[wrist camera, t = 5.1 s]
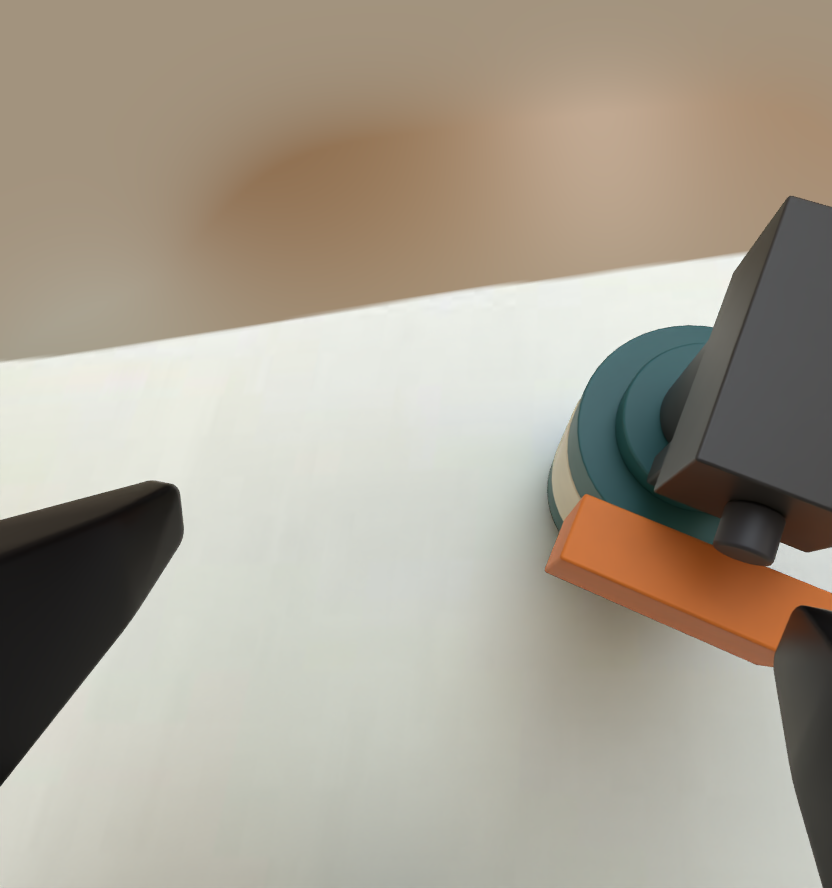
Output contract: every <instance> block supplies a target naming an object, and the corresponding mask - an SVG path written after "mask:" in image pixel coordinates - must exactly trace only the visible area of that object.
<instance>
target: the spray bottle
mask: <svg viewBox="0 0 832 888" xmlns="http://www.w3.org/2000/svg"><path fill="white" fill-rule="evenodd" d="M547 493H548V503H549V507H550V512H551V515H552V517H553V520H554V523H555V525H556V526H557V528H558V530H559V532H560V529H561V527H562V524H563V522H564V520H565V518H566V517H567V516H568V515H569V513H570V512H571V511H572V510H573V508H574V507H575V506H576V505H577V503H578V502H579V501H580V500H581V498H582V497H583V496H584V495H585V494H588V495H591V496H593V497H596V498H598V499H601V500H603V501H606V502H608V503H610V504H613V505H615V506H618V507H620V508H623V509H625V510H628V511H630V512H633V513H635V514H638V515H640V516H642V517H645V518H647V519H650V520H652V521H655V522H657V523H660V524H662V525H665V526H667V527H670V528H672V529H674V530H677V531H679V532H682V533H684V534H687V535H689V536H692V537H694V538H697V539H699V540H702V541H704V542H707V543H709V544H711V545H713V546H714V548H715V549H716V550H718V551H719V552H721V553H722V554H724V555H726V556H728V557H730V558H733V559H735V560H738V561H741V562H744V563H748V564H752V565H758V566H769V565H771V564H772V563H773V562H774V560H775V556H776V553H777V550H778V547H779V543H780V542H781V543H784V544H786V545H789V546H791V547H794V548H796V549H799V550H801V551H804V552H812V551H817V550H821V549H826V548H830V547H832V207H830V206H826V205H823V204H819V203H815V202H812V201H808V200H805V199H801V198H798V197H794V196H789V197H788V198H787V199H786V200H785V202H784V203H783V204H782V206H781V207H780V209H779V210H778V212H777V213H776V214H775V216H774V217H773V218H772V220H771V221H770V223H769V224H768V225H767V227H766V228H765V230H764V231H763V232H762V234H761V235H760V237H759V238H758V239H757V241H756V242H755V244H754V245H753V246H752V248H751V249H750V250H749V252H748V253H747V255H746V256H745V257H744V259H743V260H742V262H741V263H740V264H739V266H738V267H737V269H736V270H735V271H734V273H733V275H732V278H731V281H730V284H729V286H728V289H727V292H726V294H725V297H724V300H723V303H722V305H721V308H720V311H719V313H718V316H717V319H716V322H715V324H714V327H707V326H691V325H687V326H673V327H668V328H663V329H658V330H655V331H651V332H648V333H645V334H643V335H640V336H638V337H636V338H634V339H632V340H630V341H628V342H627V343H625V344H624V345H622V346H620V347H619V348H618V349H616V350H615V351H614V352H613V353H611V354H610V355H609V356H608V357H607V358H606V359H605V360H604V361H603V362H602V363H601V365H600V366H599V367H598V368H597V370H596V371H595V372H594V374H593V375H592V377H591V378H590V380H589V382H588V384H587V386H586V388H585V390H584V393H583V395H582V397H581V399H580V400H579V402H578V403H577V405H576V407H575V409H574V411H573V413H572V416H571V418H570V420H569V423H568V425H567V427H566V430H565V432H564V434H563V437H562V439H561V441H560V443H559V446H558V448H557V451H556V454H555V457H554V461H553V463H552V466H551V469H550V473H549V478H548V489H547Z"/></svg>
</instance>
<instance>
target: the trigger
mask: <svg viewBox="0 0 832 888" xmlns="http://www.w3.org/2000/svg"><path fill="white" fill-rule="evenodd" d="M545 571H546V572H547V573H549V574H551V575H553V576H556V577H558V578H560V579H562V580H565V581H567V582H569V583H572V584H574V585H576V586H578V587H581V588H583V589H585V590H587V591H590V592H592V593H594V594H597V595H599V596H601V597H603V598H606V599H608V600H610V601H612V602H615V603H617V604H619V605H622V606H624V607H626V608H628V609H631V610H633V611H635V612H638V613H640V614H642V615H644V616H647V617H649V618H651V619H653V620H656V621H658V622H660V623H663V624H665V625H667V626H669V627H672V628H674V629H676V630H679V631H681V632H683V633H685V634H688V635H690V636H692V637H694V638H697V639H699V640H701V641H704V642H706V643H708V644H710V645H713V646H715V647H717V648H719V649H722V650H724V651H726V652H729V653H731V654H733V655H735V656H738V657H740V658H742V659H745V660H747V661H749V662H751V663H754V664H756V665H761V666H768V667H773V662H774V655H775V651H776V649H777V646H778V644H779V641H780V639H781V637H782V634H783V632H784V629H785V627H786V625H787V622H788V620H789V617H790V615H791V613H792V611H793V610H794V609H795V608H796V607H798V606H800V605H806V606H811V607H816V608H822V609H827V610H831V611H832V593H830V592H827V591H825V590H822V589H820V588H817V587H815V586H812V585H810V584H808V583H805V582H803V581H800V580H798V579H795V578H793V577H790V576H788V575H785V574H783V573H780V572H778V571H775V570H773V569H771V568H768V567H766V566H758V565H752V564H748V563H744V562H741V561H738V560H735V559H733V558H730V557H728V556H726V555H724V554H722V553H721V552H719V551H718V550H716V549H715V548H714V546H713V545H711V544H709V543H707V542H704V541H702V540H699V539H697V538H694V537H692V536H689V535H687V534H684V533H682V532H679V531H677V530H674V529H672V528H670V527H667V526H665V525H662V524H660V523H657V522H655V521H652V520H650V519H647V518H645V517H642V516H640V515H638V514H635V513H633V512H630V511H628V510H625V509H623V508H620V507H618V506H615V505H613V504H610V503H608V502H606V501H603V500H601V499H598V498H596V497H593V496H591V495H588V494H585V495H584V496H583V497H582V498H581V500H580V501H579V502H578V503H577V505H576V506H575V507H574V508H573V510H572V511H571V512H570V513H569V515H568V516H567V517H566V518H565V520H564V522H563V524H562V527H561V529H560V532H559V534H558V537H557V539H556V542H555V544H554V547H553V550H552V552H551V555H550V557H549V560H548V562H547V565H546V567H545Z"/></svg>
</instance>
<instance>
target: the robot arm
mask: <svg viewBox="0 0 832 888" xmlns="http://www.w3.org/2000/svg"><path fill="white" fill-rule="evenodd" d="M183 533H184V525H183V516H182V507H181V498H180V492H179V490H178V488H177V487H176V486H175V485H173V484H170V483H164V482H159V481H146V482H142V483H139V484H135V485H131V486H127V487H124V488H120V489H116V490H112V491H108V492H105V493H101V494H97V495H93V496H90V497H86V498H82V499H78V500H75V501H71V502H67V503H63V504H60V505H56V506H52V507H48V508H44V509H41V510H37V511H33V512H29V513H26V514H22V515H18V516H14V517H11V518H7V519H3V520H0V786H1V785H2V784H3V783H4V781H5V780H6V779H7V777H8V776H9V775H10V774H11V772H12V771H13V770H14V769H15V767H16V766H17V765H18V764H19V762H20V761H21V760H22V759H23V757H24V756H25V755H26V753H27V752H28V751H29V750H30V748H31V747H32V746H33V745H34V743H35V742H36V741H37V740H38V738H39V737H40V736H41V734H42V733H43V732H44V731H45V729H46V728H47V727H48V726H49V724H50V723H51V722H52V721H53V719H54V718H55V717H56V716H57V714H58V713H59V712H60V710H61V709H62V708H63V707H64V705H65V704H66V703H67V702H68V700H69V699H70V698H71V697H72V695H73V694H74V693H75V691H76V690H77V689H78V688H79V686H80V685H81V684H82V683H83V681H84V680H85V679H86V678H87V676H88V675H89V674H90V673H91V671H92V670H93V669H94V667H95V666H96V665H97V664H98V662H99V661H100V660H101V659H102V657H103V656H104V655H105V654H106V652H107V651H108V650H109V648H110V647H111V646H112V645H113V643H114V642H115V641H116V640H117V638H118V637H119V636H120V635H121V633H122V632H123V631H124V629H125V628H126V627H127V625H128V624H129V623H130V621H131V620H132V618H133V617H134V615H135V614H136V612H137V611H138V610H139V608H140V607H141V605H142V603H143V602H144V600H145V599H146V597H147V596H148V594H149V592H150V591H151V589H152V588H153V586H154V585H155V583H156V581H157V580H158V578H159V577H160V575H161V574H162V572H163V570H164V569H165V567H166V566H167V564H168V563H169V561H170V559H171V558H172V556H173V555H174V553H175V552H176V550H177V548H178V547H179V545H180V543H181V541H182V538H183ZM773 668H774V675H775V681H776V687H777V693H778V699H779V705H780V711H781V717H782V723H783V729H784V735H785V742H786V748H787V754H788V760H789V765H790V770H791V775H792V780H793V784H794V788H795V792H796V795H797V799H798V803H799V806H800V810H801V813H802V817H803V820H804V824H805V827H806V831H807V834H808V838H809V841H810V845H811V848H812V851H813V855H814V858H815V862H816V865H817V869H818V872H819V876H820V879H821V883H822V886H823V888H832V611H831V610H827V609H822V608H816V607H811V606H806V605H800V606H798V607H796V608H795V609H794V610H793V611H792V613H791V615H790V617H789V620H788V622H787V625H786V627H785V629H784V632H783V634H782V637H781V639H780V641H779V644H778V646H777V649H776V651H775V655H774V662H773Z"/></svg>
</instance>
